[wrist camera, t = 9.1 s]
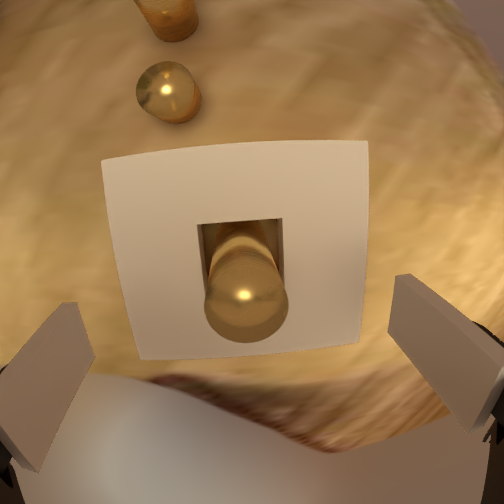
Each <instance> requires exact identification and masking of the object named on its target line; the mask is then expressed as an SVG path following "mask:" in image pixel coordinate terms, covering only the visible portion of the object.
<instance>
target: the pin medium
mask: <svg viewBox="0 0 504 504" xmlns="http://www.w3.org/2000/svg"><path fill="white" fill-rule="evenodd" d="M134 2H135V3H136V5H137V6H138V8H139V9H140V11H141V12H142V14H143V15H144V17H145V18H146V20H147V22H148V23H149V25H150V26H151V28H152V29H153V31H154V32H155V34H156V36H157V37H158V38H160V39H161V40H163V41H166V42H178V41H182V40H184V39H186V38H188V37H189V36H190V35H192V34H193V33H194V31H195V30H196V28H197V25H198V17H197V12H196V8H195V4H194V0H134Z"/></svg>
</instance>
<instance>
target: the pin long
mask: <svg viewBox="0 0 504 504" xmlns="http://www.w3.org/2000/svg"><path fill="white" fill-rule="evenodd" d="M288 309H289V302H288V296H287V293H286V291H285V288H284V285H283V283H282V280H281V278H280V275H279V272H278V270H277V267H276V265H275V262H274V260H273V257H272V254H271V252H270V249H269V247H268V244H267V242H266V239H265V236H264V234H263V231H262V229H261V226H260V225H259V223H258V222H257V221H256V220H247V221H234V222H221V224H220V225H219V227H218V230H217V235H216V240H215V246H214V251H213V256H212V262H211V267H210V272H209V278H208V284H207V289H206V295H205V301H204V312H205V316H206V319H207V321H208V323H209V325H210V326H211V328H212V329H213V330H214V331H215V332H216V333H217V334H219V335H220V336H222V337H223V338H225V339H227V340H230V341H233V342H237V343H254V342H258V341H261V340H264V339H266V338H268V337H270V336H271V335H273V334H274V333H275V332H276V331H278V329H279V328H280V327H281V326H282V325H283V323H284V321H285V319H286V317H287V314H288Z"/></svg>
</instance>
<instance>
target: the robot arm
mask: <svg viewBox="0 0 504 504" xmlns="http://www.w3.org/2000/svg"><path fill="white" fill-rule="evenodd" d="M388 333H389V334H390V336H391V337H392V338H393V339H394V341H395V342H396V343H397V344H398V345H399V347H400V348H401V349H402V350H403V352H404V353H405V354H406V355H407V357H408V358H409V359H410V360H411V362H412V363H413V364H414V365H415V367H416V368H417V369H418V370H419V372H420V373H421V374H422V375H423V377H424V378H425V379H426V381H427V382H428V383H429V384H430V386H431V387H432V388H433V390H434V391H435V392H436V393H437V395H438V396H439V397H440V399H441V400H442V401H443V403H444V404H445V405H446V407H447V408H448V409H449V411H450V412H451V413H452V415H453V416H454V417H455V419H456V420H457V421H458V423H459V424H460V426H461V427H462V428H463V429H464V431H465V432H466V434H467V435H468V434H470V433H472V432H474V431H476V430H477V429H479V428H481V427H483V426H484V425H485V423H486V421H487V419H488V418H489V416H490V414H492V415H493V416H494V417H495V418H496V419H495V420H494V422H493V424H492V425H491V427H490V429H489V430H488V432H487V433H486V435H485V437H484V439H483V442H486V440H487V439H488V437H489V436H490V435H491V440H490V441H489V443H490V452H489V460H488V467H487V474H486V480H485V485H484V491H483V496H482V500H481V504H504V343H503V342H502V341H500V339H499V338H497V337H496V336H495V335H493V333H491V332H490V331H489V330H488V329H487V328H485V327H484V326H482V325H480V324H478V323H476V322H474V321H471V320H470V319H468V318H467V317H466V316H465V315H464V314H462V313H461V312H460V311H459V310H457V309H456V308H455V307H454V306H452V305H451V304H450V303H448V302H447V301H446V300H445V299H443V298H442V297H441V296H439V295H438V294H437V293H436V292H434V291H433V290H432V289H430V288H429V287H428V286H426V285H425V284H424V283H422V282H421V281H420V280H418V279H417V278H416V277H414V276H413V275H412V274H404V275H397V276H395V284H394V292H393V300H392V307H391V314H390V320H389V326H388ZM94 358H95V356H94V353H93V350H92V347H91V345H90V342H89V339H88V336H87V333H86V330H85V327H84V324H83V321H82V318H81V315H80V311H79V308H78V305H77V302H74V303H62V304H61V305H60V306H59V307H58V308H57V309H56V310H55V311H54V312H53V313H52V314H51V316H50V317H49V318H48V319H47V320H46V321H45V322H44V323H43V324H42V325H41V327H40V328H39V329H38V330H37V331H36V332H35V333H34V334H33V336H32V337H31V338H30V339H29V340H28V341H27V343H26V344H25V345H24V346H23V347H22V348H21V350H20V351H19V352H18V353H17V354H16V356H15V357H14V358H13V359H12V360H11V362H10V363H9V364H7V365H6V366H5V367H3V368H2V369H1V370H0V504H25V502H24V499H23V496H22V493H21V490H20V487H19V484H18V481H17V477H16V474H15V471H14V469H13V466H12V465H11V464H10V463H9V462H10V460H11V458H12V457H13V458H14V459H15V460H16V461H17V463H18V464H19V465H20V466H21V467H22V468H25V469H28V470H31V471H34V472H37V473H39V471H40V469H41V467H42V464H43V462H44V459H45V457H46V455H47V453H48V450H49V448H50V446H51V444H52V441H53V439H54V437H55V435H56V433H57V431H58V429H59V427H60V424H61V422H62V420H63V418H64V416H65V414H66V412H67V410H68V408H69V406H70V404H71V402H72V400H73V398H74V396H75V394H76V392H77V390H78V388H79V386H80V384H81V382H82V380H83V379H84V377H85V375H86V373H87V371H88V369H89V367H90V365H91V364H92V362H93V360H94Z"/></svg>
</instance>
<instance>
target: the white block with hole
mask: <svg viewBox="0 0 504 504" xmlns="http://www.w3.org/2000/svg"><path fill="white" fill-rule="evenodd" d="M101 164H102V174H103V183H104V192H105V200H106V207H107V214H108V221H109V227H110V233H111V239H112V245H113V250H114V256H115V261H116V266H117V271H118V275H119V280H120V285H121V289H122V294H123V298H124V302H125V306H126V310H127V314H128V318H129V322H130V326H131V329H132V333H133V337H134V340H135V344H136V347H137V351H138V354H139V357H140V360H189V359H212V358H229V357H244V356H256V355H267V354H277V353H286V352H295V351H303V350H311V349H319V348H326V347H333V346H340V345H346V344H352V343H358V342H359V337H360V329H361V321H362V312H363V302H364V291H365V279H366V265H367V247H368V222H369V158H368V141H351V140H289V141H262V142H244V143H230V144H218V145H206V146H196V147H187V148H178V149H170V150H163V151H155V152H148V153H141V154H135V155H129V156H123V157H117V158H111V159H106V160H101ZM276 218H277V228H278V253H279V275H280V278H281V280H282V283H283V285H284V288H285V291H286V293H287V296H288V302H289V309H288V314H287V317H286V319H285V321H284V323H283V325H282V326H281V327H280V328H279V329H278V331H276V332H275V333H274V334H273V335H271V336H270V337H268V338H266V339H264V340H261V341H258V342H254V343H237V342H233V341H230V340H227V339H225V338H223V337H222V336H220V335H219V334H217V333H216V332H215V331H214V330H213V329H212V328H211V326H210V325H209V323H208V321H207V319H206V316H205V312H204V301H205V295H206V289H207V284H208V278H207V270H206V261H205V252H204V243H203V234H202V224H209V223H221V222H234V221H247V220H261V219H276Z"/></svg>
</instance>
